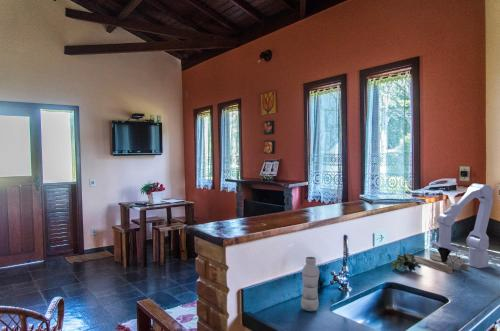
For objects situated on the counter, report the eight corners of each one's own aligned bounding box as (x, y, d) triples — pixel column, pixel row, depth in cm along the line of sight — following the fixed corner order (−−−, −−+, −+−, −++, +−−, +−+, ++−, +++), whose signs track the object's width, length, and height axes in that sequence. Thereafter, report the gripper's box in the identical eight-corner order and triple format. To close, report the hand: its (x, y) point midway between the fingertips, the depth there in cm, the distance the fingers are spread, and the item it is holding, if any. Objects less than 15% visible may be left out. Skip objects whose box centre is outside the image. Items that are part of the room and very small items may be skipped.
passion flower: (409, 280, 188) (425, 264, 184) (401, 282, 180) (417, 265, 176) (393, 264, 195) (408, 248, 191) (384, 264, 187) (400, 248, 183)
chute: (431, 258, 209) (431, 253, 209) (468, 270, 189) (468, 264, 189) (414, 261, 204) (414, 255, 204) (450, 273, 184) (450, 267, 184)
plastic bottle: (299, 306, 143) (300, 255, 142) (316, 305, 143) (317, 255, 142) (302, 313, 136) (303, 260, 135) (320, 313, 137) (321, 260, 136)
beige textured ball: (458, 278, 188) (469, 266, 182) (441, 271, 189) (452, 259, 183) (457, 265, 195) (467, 253, 188) (441, 258, 196) (451, 246, 190)
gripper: (427, 234, 199) (427, 259, 199) (452, 240, 186) (451, 267, 186) (436, 233, 202) (436, 257, 202) (461, 239, 189) (460, 265, 189)
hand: (444, 262), depth 195 cm, fingers closed
